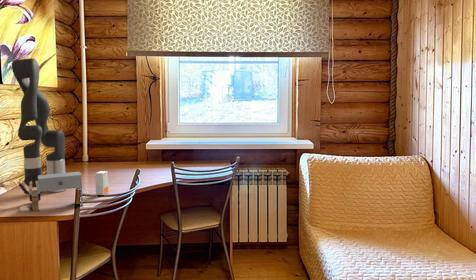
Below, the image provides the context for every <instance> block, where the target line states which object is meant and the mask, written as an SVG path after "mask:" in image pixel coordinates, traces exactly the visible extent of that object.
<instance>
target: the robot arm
mask: <svg viewBox="0 0 476 280" xmlns="http://www.w3.org/2000/svg"><path fill="white" fill-rule="evenodd" d="M11 70H12V73H13V75H14V77H15V79H16V81H17V83H18V85H19V87H20V89H21V91H22V93H23V95H22V99H21V100H20V123H19V126H18V130H17V136H18V139H20V140H21V141H33V143H32V144H26V145H25V146H23V170H24V180H23V181H22V182H19V183H18V186H19V187H20V189H21V190H22V191H23V193H24V194H25V195H29V202H31V203H32V190H33V188H36V190H37V192H38V203H39V202H40V201H41V200H42V199H41V194H43V193H45V191H43V192H39V185H38V175H43V172H42V171H43V170H42V161H41V152H40V151H41V148H40V147H41V143H42V145H43V146H44V147H45V148H54V150H53V152H50V153H48V154H46V156H45V158H46V159H45V161H46V175H48V174H59V173H66V160H65V158H66V157H65V154H66V137H65V133H64V132H63V130H57V129H56V130H54V129H52V130H51V129H49V126H48V120H49V116H50V114H51V105H50V104H49V102H48V98H47V97H46V96H45V94H44V93H43V92H41V91H40V90H39V80H40V65H39V63H38V61H37V60H36V59H35V58H33V57H32V58H21V59H20V58H18V59H15V60H13V61H12V62H11ZM33 121H34V122H35V125H31V124H30V125H27V124H28V123H29V122H33ZM25 185H26V186H28V190H27V188H26V187H25ZM64 191H67V189H62V190H53V191H48V193H59V192H64Z"/></svg>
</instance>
